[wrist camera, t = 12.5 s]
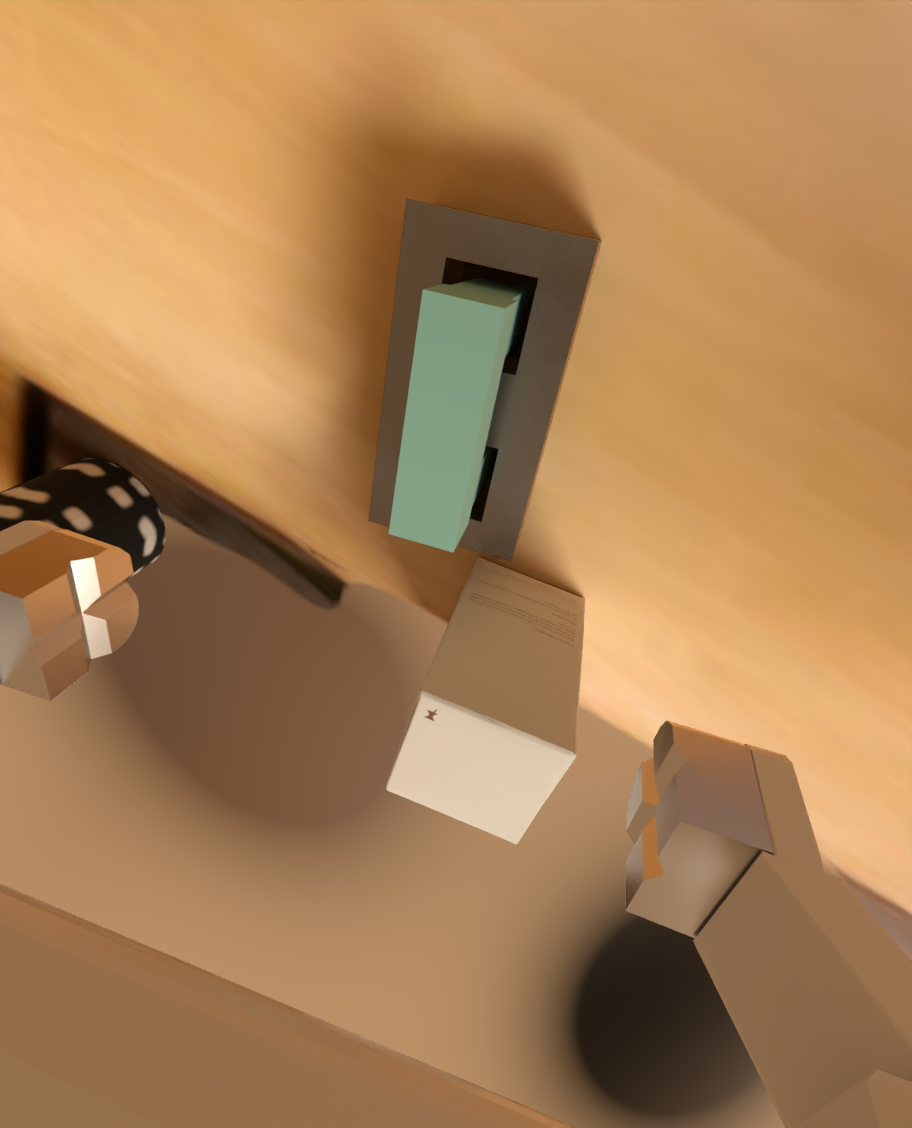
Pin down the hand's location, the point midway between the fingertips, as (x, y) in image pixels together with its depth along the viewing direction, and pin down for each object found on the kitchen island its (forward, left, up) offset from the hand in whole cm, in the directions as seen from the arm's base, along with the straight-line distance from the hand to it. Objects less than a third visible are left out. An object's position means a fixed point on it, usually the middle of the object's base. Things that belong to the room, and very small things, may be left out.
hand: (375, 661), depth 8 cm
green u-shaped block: (+3, +2, -24) cm, 25 cm away
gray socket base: (+3, +2, -24) cm, 25 cm away
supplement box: (-2, +16, -25) cm, 29 cm away
